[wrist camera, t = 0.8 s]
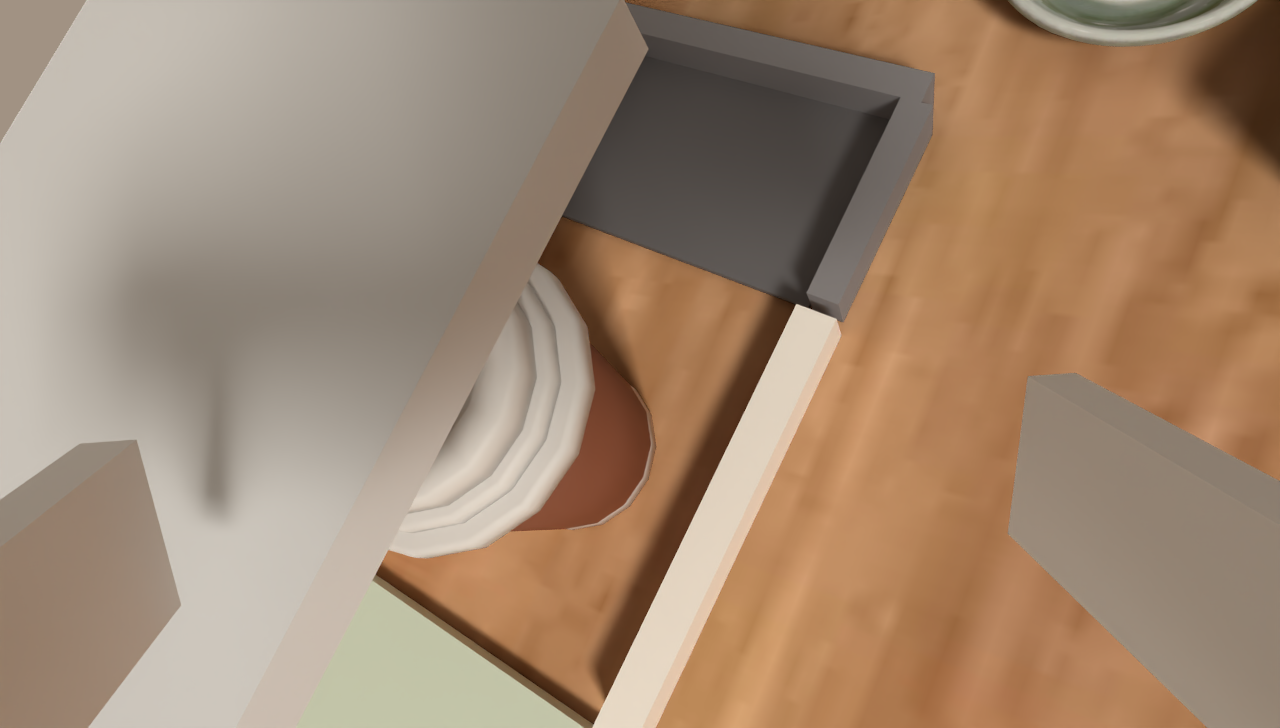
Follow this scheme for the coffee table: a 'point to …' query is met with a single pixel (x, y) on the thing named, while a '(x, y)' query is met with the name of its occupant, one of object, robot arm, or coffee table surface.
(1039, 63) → the coffee table surface
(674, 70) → the tray
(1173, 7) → the saucer
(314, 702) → the pad
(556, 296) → the coffee cup
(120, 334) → the white stool
